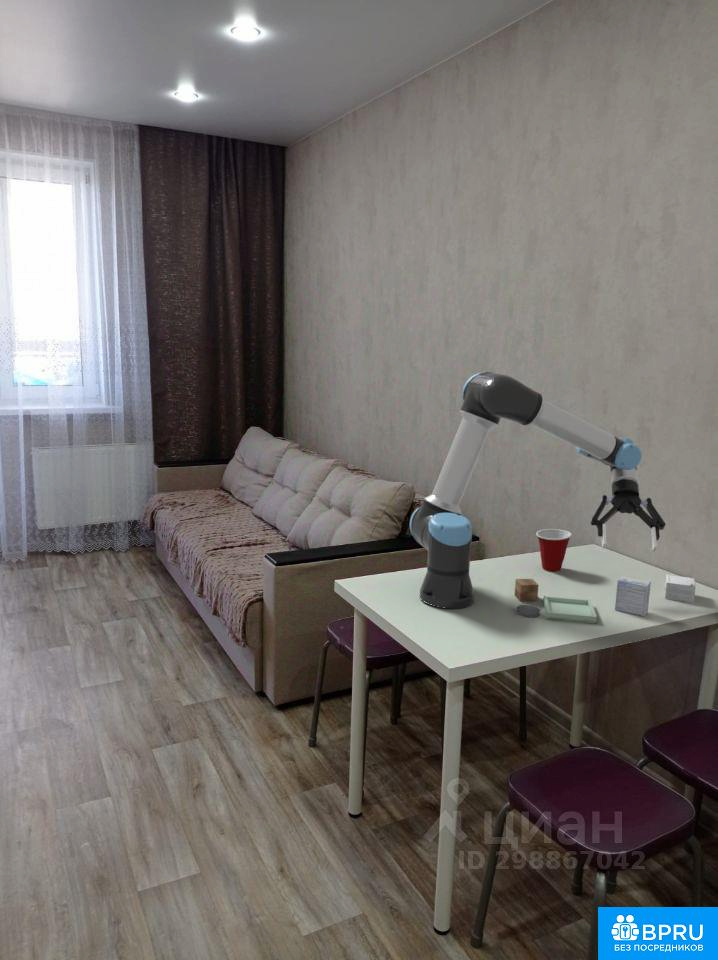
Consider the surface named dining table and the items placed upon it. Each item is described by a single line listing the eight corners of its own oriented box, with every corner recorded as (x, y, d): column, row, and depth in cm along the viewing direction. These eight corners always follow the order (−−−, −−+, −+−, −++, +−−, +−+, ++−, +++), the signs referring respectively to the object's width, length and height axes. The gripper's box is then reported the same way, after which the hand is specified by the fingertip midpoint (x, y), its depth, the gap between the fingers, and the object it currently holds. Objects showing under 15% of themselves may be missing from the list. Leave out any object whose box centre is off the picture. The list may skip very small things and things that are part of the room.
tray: (546, 619, 191) (547, 612, 191) (543, 601, 203) (543, 595, 203) (596, 623, 189) (597, 616, 189) (589, 605, 201) (590, 599, 201)
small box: (664, 590, 215) (666, 574, 214) (693, 594, 212) (695, 578, 211) (664, 599, 208) (666, 582, 207) (694, 603, 205) (696, 586, 204)
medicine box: (648, 611, 198) (651, 581, 196) (644, 617, 194) (647, 586, 193) (618, 605, 202) (621, 575, 200) (614, 610, 199) (617, 580, 197)
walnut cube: (519, 601, 203) (521, 585, 202) (514, 595, 208) (515, 578, 207) (537, 601, 204) (538, 584, 203) (531, 595, 208) (532, 578, 207)
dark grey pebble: (516, 617, 193) (517, 611, 192) (515, 608, 199) (516, 603, 198) (540, 619, 192) (540, 613, 192) (538, 610, 198) (538, 605, 197)
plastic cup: (527, 563, 236) (530, 528, 234) (558, 562, 238) (562, 527, 236) (542, 575, 226) (545, 537, 223) (574, 573, 228) (577, 537, 225)
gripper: (665, 494, 218) (672, 557, 207) (579, 489, 222) (581, 550, 211) (672, 480, 212) (679, 544, 200) (583, 475, 216) (585, 538, 205)
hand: (629, 547), depth 206 cm, fingers open, 13 cm apart
